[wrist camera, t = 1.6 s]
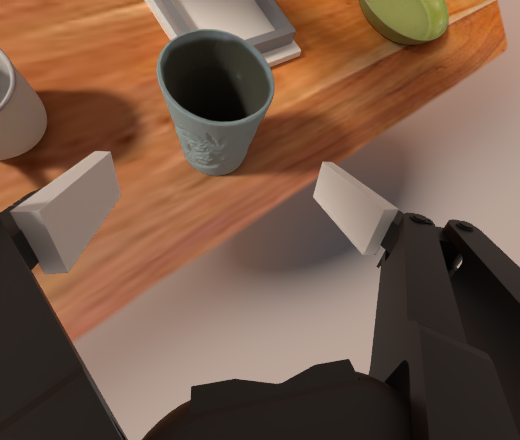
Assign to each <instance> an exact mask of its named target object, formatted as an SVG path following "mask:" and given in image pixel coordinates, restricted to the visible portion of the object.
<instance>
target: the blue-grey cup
mask: <svg viewBox="0 0 520 440" xmlns="http://www.w3.org/2000/svg"><path fill="white" fill-rule="evenodd" d="M157 77H158V82H159V85H160V87H161V90H162V93H163V95H164V98H165V101H166V103H167V105H168V109H169V112H170V114H171V117H172V119H173V121H174V123H175V129H176V132H177V135H178V137H179V140H180V143H181V147H182V150H183V153H184V156H185V158H186V159H187V161H188V162H189V163H190V164H191V165H192V166H193V167H194V168H195V169H196V170H198V171H199V172H201V173H204V174H207V175H212V176H221V175H226V174H229V173H231V172H232V171H234V170H235V169H237V168H238V167H239V166H240V165H241V163H242V162H243V160H244V158H245V156H246V154H247V151H248V148H249V145H250V143H251V142H252V140H253V138H254V136H255V134H256V131H257V129H258V126H259V124H260V122H261V121H262V119H263V117H264V115H265V114H266V112H267V110H268V108H269V106H270V104H271V102H272V99H273V95H274V78H273V74H272V71H271V68H270V66H269V64H268V63H267V61H266V59H265V58H264V57H263V55H262V54H261V53H260V52H259V51H258V50H257V49H256V48H255V47H254V46H252V45H251V44H250V43H248V42H247V41H245V40H244V39H242V38H240V37H239V36H236V35H234V34H231V33H229V32H225V31H221V30H216V29H198V30H193V31H190V32H186V33H183V34H180V35H179V36H177V37H175V38H174V39H172V40H171V41H170V42H169V43H168V44H167V45H166V46H165V47H164V49H163V50H162V51H161V53H160V56H159V58H158V63H157Z"/></svg>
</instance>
